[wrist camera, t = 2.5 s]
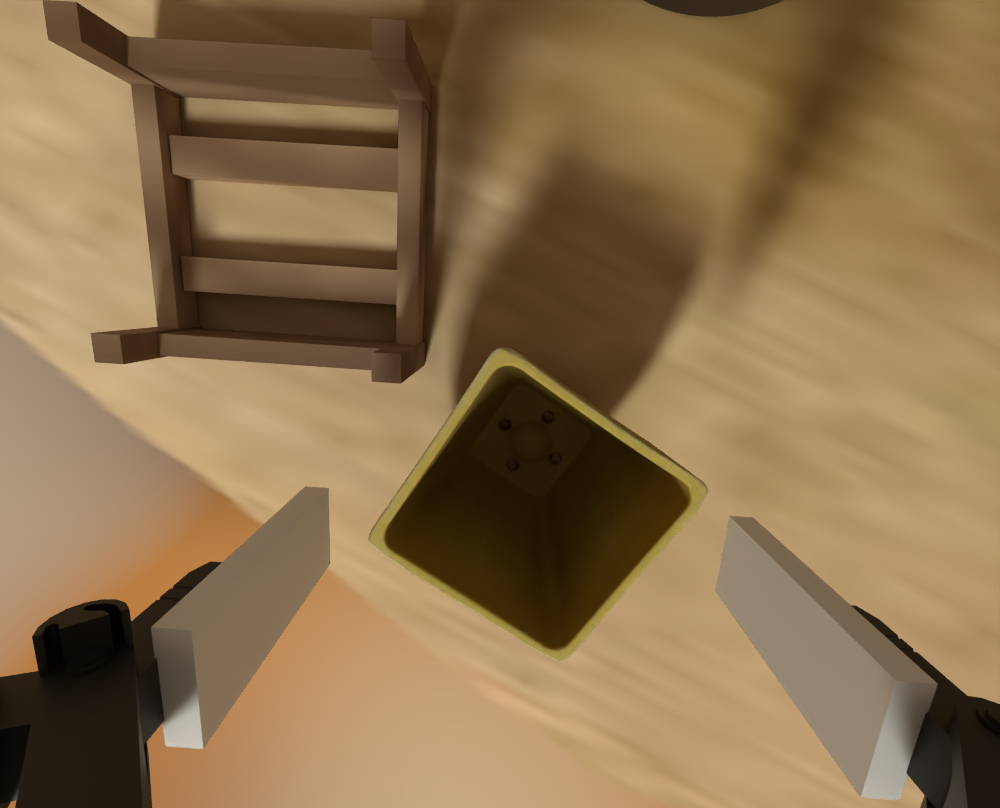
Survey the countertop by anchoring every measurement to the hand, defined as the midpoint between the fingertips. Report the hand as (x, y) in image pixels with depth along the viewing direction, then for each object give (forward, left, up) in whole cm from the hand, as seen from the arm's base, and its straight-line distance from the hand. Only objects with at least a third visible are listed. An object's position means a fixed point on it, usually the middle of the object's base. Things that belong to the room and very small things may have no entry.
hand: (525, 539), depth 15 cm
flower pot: (0, 0, -10) cm, 10 cm away
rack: (-10, -12, -10) cm, 18 cm away
